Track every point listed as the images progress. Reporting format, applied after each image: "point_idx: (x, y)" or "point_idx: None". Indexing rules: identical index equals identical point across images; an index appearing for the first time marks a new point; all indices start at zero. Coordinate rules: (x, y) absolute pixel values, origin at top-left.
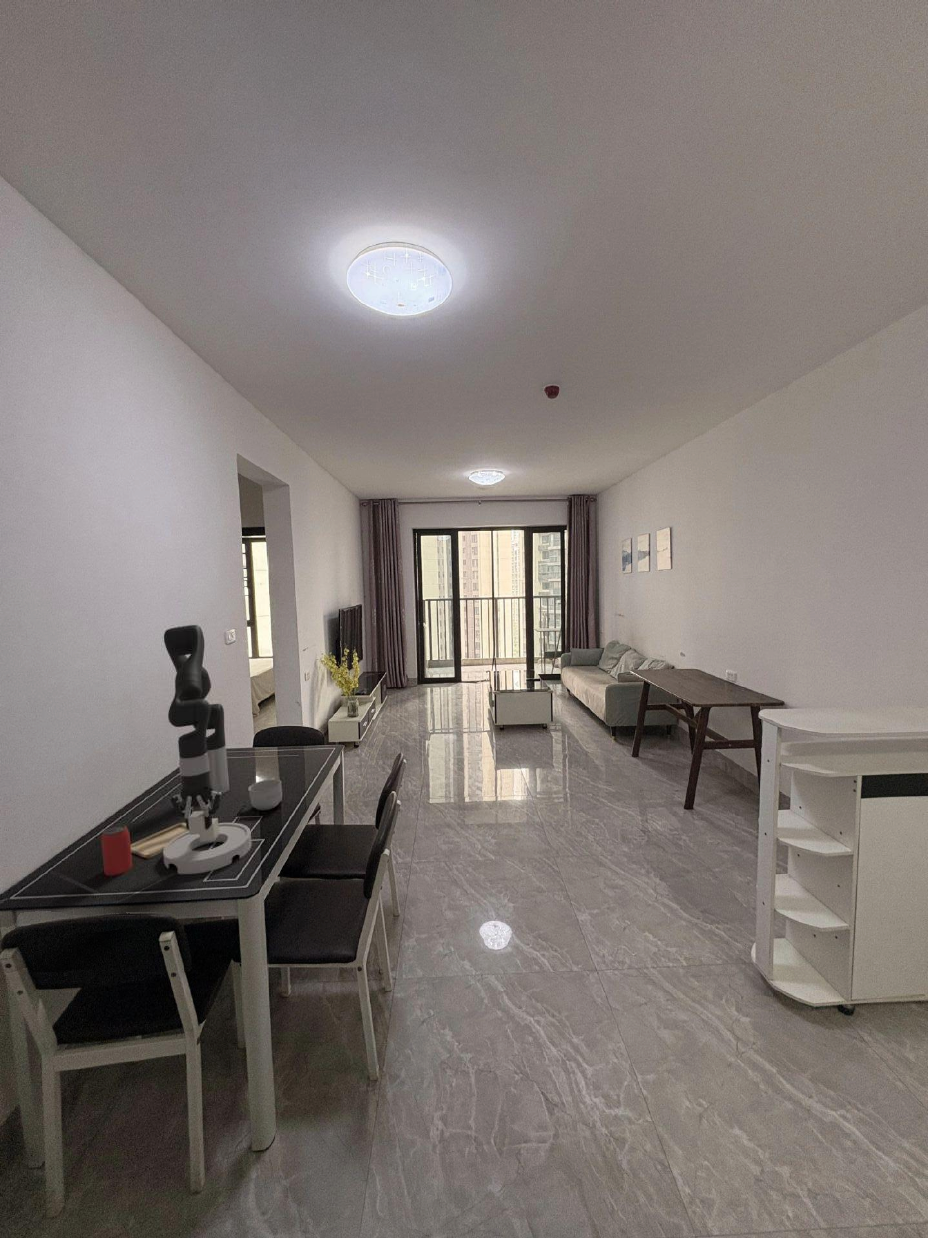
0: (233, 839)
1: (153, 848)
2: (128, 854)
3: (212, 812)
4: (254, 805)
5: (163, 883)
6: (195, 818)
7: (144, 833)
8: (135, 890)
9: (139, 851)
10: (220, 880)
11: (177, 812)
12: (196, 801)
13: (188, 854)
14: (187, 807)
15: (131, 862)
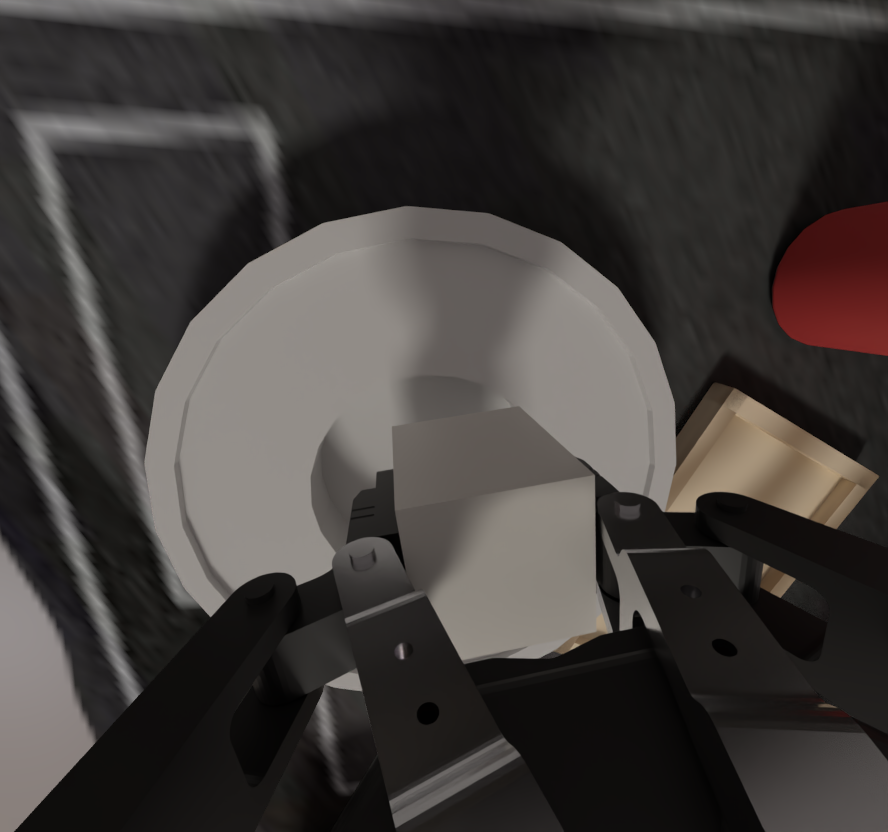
0: (275, 523)
1: (734, 482)
2: (868, 275)
3: (267, 589)
4: None
5: (520, 113)
6: (494, 484)
7: (821, 617)
8: (653, 37)
9: (794, 434)
10: (145, 117)
11: (795, 524)
12: (578, 753)
13: (480, 331)
14: (696, 585)
15: (797, 300)
